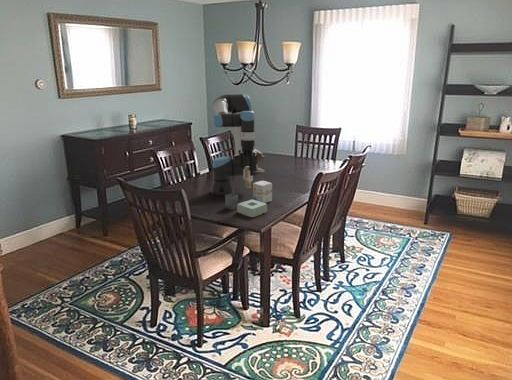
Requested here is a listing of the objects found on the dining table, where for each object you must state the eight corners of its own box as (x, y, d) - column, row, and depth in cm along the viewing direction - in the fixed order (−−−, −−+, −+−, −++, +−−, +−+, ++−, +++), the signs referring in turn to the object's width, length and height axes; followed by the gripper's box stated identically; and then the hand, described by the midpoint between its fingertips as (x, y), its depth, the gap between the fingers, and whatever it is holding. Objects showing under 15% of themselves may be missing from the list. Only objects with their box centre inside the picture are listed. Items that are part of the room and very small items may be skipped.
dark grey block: (225, 207, 239) (224, 195, 236) (232, 205, 242) (232, 192, 240) (231, 210, 235) (231, 197, 233) (238, 207, 239) (238, 194, 236)
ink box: (252, 200, 251) (252, 182, 248) (262, 197, 257) (262, 180, 253) (262, 204, 245) (262, 185, 242) (272, 200, 251) (272, 182, 247)
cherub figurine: (242, 168, 332) (242, 146, 326) (264, 167, 332) (265, 146, 326) (242, 173, 315) (241, 150, 310) (265, 173, 315) (265, 150, 309)
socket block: (237, 212, 231) (237, 204, 230) (252, 207, 239) (252, 199, 238) (252, 217, 223) (252, 209, 222) (267, 212, 231) (267, 203, 230)
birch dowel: (243, 187, 232) (243, 166, 229) (248, 186, 235) (247, 165, 232) (247, 188, 230) (247, 167, 227) (252, 187, 232) (252, 166, 229)
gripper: (232, 138, 228) (233, 179, 234) (253, 141, 217) (253, 184, 223) (242, 137, 233) (243, 176, 239) (263, 140, 222) (263, 181, 228)
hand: (248, 180), depth 231 cm, fingers closed on birch dowel, 3 cm apart
